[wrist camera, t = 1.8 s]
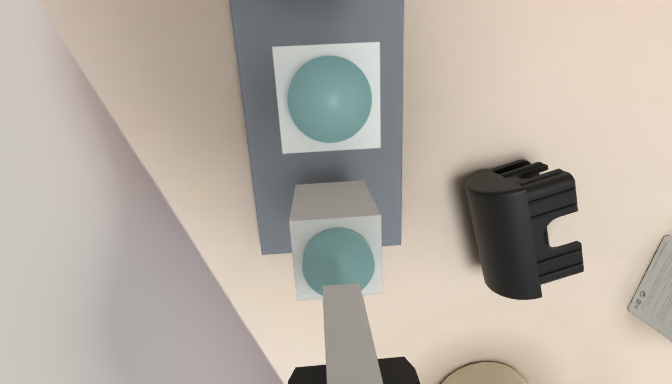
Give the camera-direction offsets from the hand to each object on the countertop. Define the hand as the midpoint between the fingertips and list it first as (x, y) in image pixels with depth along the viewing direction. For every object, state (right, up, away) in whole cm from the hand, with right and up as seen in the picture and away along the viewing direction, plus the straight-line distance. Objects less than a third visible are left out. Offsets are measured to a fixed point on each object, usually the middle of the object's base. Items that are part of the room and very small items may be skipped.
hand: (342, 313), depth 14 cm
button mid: (-1, +11, +7) cm, 13 cm away
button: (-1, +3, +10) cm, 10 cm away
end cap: (+15, +3, +19) cm, 24 cm away
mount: (-1, +13, +14) cm, 20 cm away
